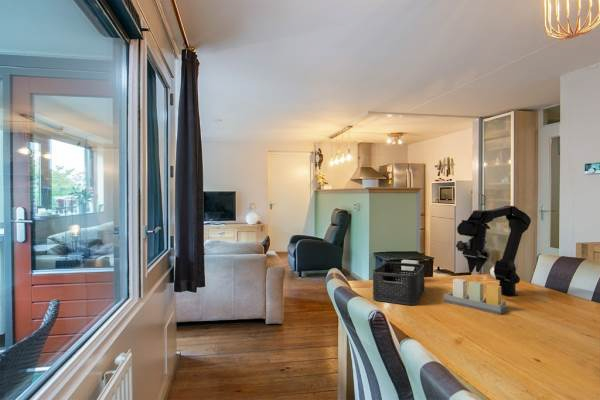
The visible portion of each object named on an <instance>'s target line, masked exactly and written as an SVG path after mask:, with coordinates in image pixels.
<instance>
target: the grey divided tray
mask: <svg viewBox="0 0 600 400" xmlns="http://www.w3.org/2000/svg"><path fill="white" fill-rule="evenodd" d="M443 302H444V303H448V304H453V305H457V306H459V307H460V306H461V307H464V308H465V307H466V308H469V309H473V310H477V311H483V312H486V313H490V314H495V315H499V316H501V315H503V314H504V313H506V312H507V311H508V310H509V307H507V301H503V302H501V304H499V305H498V306H497V305H492V304H488V303H486V297H485V298H483V300H481V301H474V300H469V294H467V296H465V297H463V298H460V297H455V296H453V291H451V292H449V293H446V294H445V293H444V294H443Z"/></svg>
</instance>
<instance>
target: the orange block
mask: <svg viewBox="0 0 600 400" xmlns="http://www.w3.org/2000/svg"><path fill="white" fill-rule="evenodd" d="M485 290H486V291H485V298H486V303H488V304H492V305H497V306H498V305H499V304H501V303H502V294H501V286H499V285H498V284H497V285H496V284H487V285H486V286H485Z"/></svg>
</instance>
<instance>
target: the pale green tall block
mask: <svg viewBox="0 0 600 400" xmlns="http://www.w3.org/2000/svg"><path fill="white" fill-rule="evenodd" d="M468 295H469V300H474V301H481V300H483V299H484V282H480V281H479V282H478V281H474V280H473V281H472V280H471V281H469V282H468Z"/></svg>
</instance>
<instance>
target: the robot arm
mask: <svg viewBox="0 0 600 400" xmlns="http://www.w3.org/2000/svg"><path fill="white" fill-rule="evenodd" d="M501 217H505V219H506V220H507V221H508V226H509V230H510V231H509V235H508V238H507V241H506V245H505V248H504V251H503V254H502V258H500V260H496V261H495V263H494V265H493V266H494V274H495V277H496V279H495V280H497V281H499V282H498V283H499V284H498V286H501V296H506V297H514V296H519V294H518V293H516V288H517V287H516V285H517V284H519V283H520V280H521V277H520V276H519V275H518V274H517V271H516V270H517V267H516V264H515V260H516V257H517V253H518V250H519V245H520V243H521V239H522V236H523V234H524V233H525V232H526V231H528V229H529V227H530V225H531V222H532V218H531V217H530V216H529V215H528V214H527V213H526V212H524V211H523V210H521V209H518V207H517V206H515V205H505V206H502V207H498V208H492V209H488V210H485V209H484V210H483V209H482V210H481V209H475V210H472V213H471V214H470V215H469V217H468V218H467V219H465V220H464V219H462V220H461V222H460V223H459V224H458V225H457V227H456V231H457V234H459V235H460V236H466V237H471V238H469V239H468V241H466V242H464V241H463V240H457V243H456V244H455V248H456V249H457V251H458V252H462V253H461V254H462V255H463V257H464V258H465V260H466V261H467V267H468V271H469V273H473V272H474V270H475V272H476V273H479V272H481V269H482V268H483V266H484V265H485V264H486V262H487V260H489V258H490V252H489V251H488V250H485V247H486V246H485V245H486V244H487V240H486V237H487V230H491V227H490V226H489V225H488V224H489V223H491V222H492V221H493V220H494V219H497V218H501Z"/></svg>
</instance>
